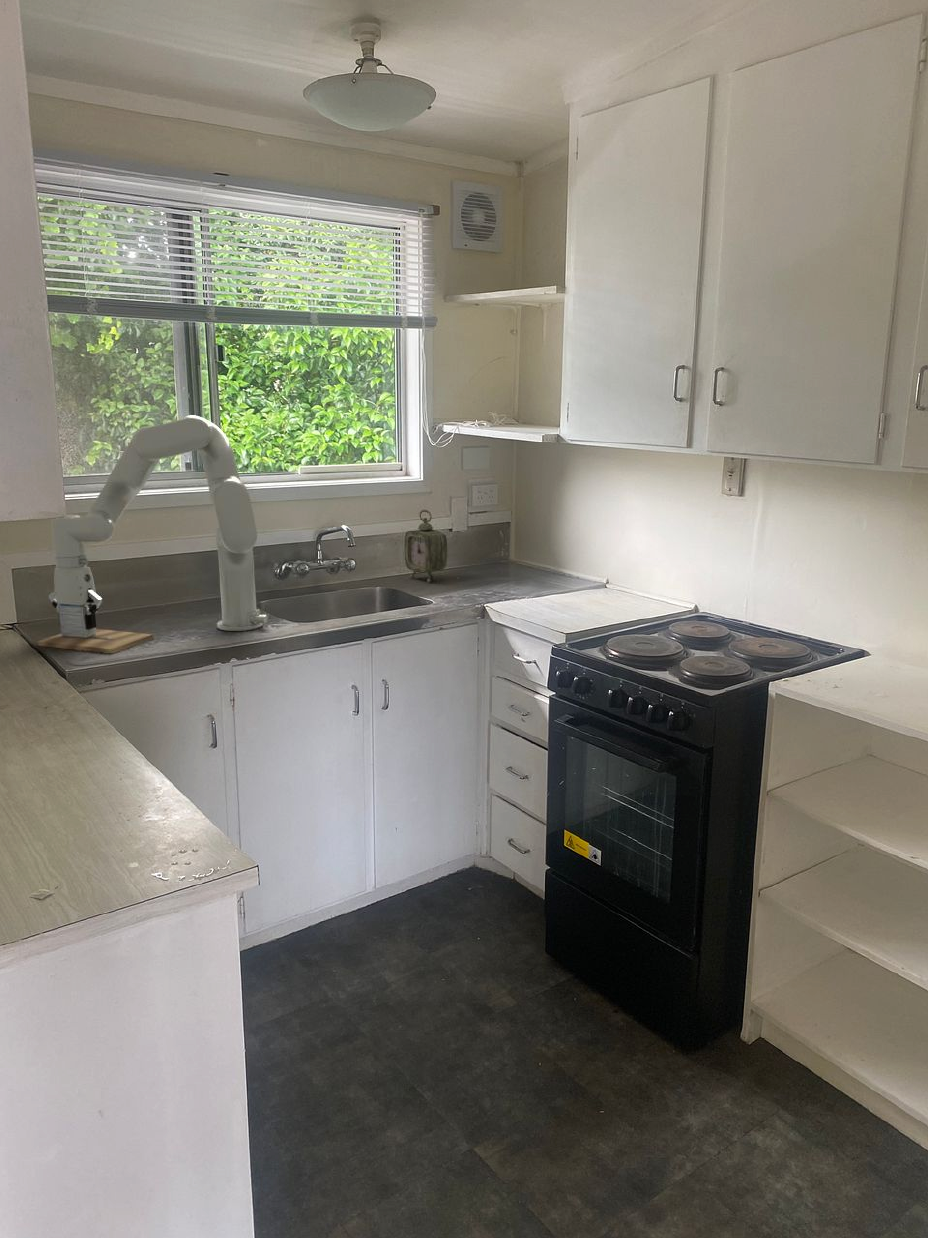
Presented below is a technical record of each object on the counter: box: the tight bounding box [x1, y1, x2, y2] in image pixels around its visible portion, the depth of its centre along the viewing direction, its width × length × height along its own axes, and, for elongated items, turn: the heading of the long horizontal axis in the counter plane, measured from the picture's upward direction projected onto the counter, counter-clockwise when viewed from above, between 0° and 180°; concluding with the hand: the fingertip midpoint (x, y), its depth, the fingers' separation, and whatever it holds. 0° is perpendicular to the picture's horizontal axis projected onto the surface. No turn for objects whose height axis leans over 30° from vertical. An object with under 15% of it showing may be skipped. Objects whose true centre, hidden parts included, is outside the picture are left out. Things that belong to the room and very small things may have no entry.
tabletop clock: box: [404, 509, 448, 584], centre depth 327 cm, size 14×9×25 cm, turn 37°
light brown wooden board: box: [37, 628, 155, 654], centre depth 245 cm, size 24×16×1 cm, turn 70°
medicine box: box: [58, 604, 97, 638], centre depth 246 cm, size 8×4×9 cm, turn 72°
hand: (78, 626), depth 246 cm, fingers closed on medicine box, 8 cm apart
